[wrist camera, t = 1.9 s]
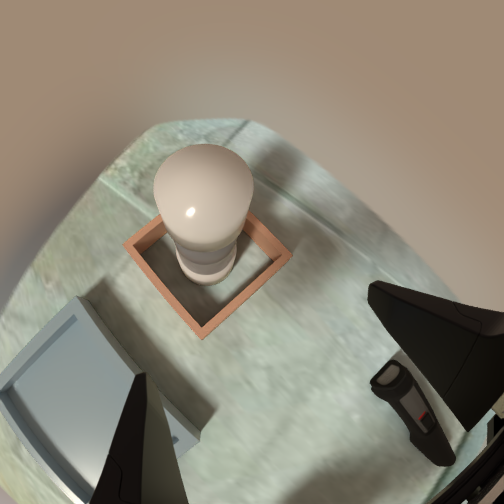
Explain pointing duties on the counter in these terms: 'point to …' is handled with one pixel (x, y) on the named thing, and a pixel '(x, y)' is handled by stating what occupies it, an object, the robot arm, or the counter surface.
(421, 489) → the counter surface
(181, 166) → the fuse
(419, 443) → the electric trimmer
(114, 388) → the parts tray
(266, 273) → the socket ring
